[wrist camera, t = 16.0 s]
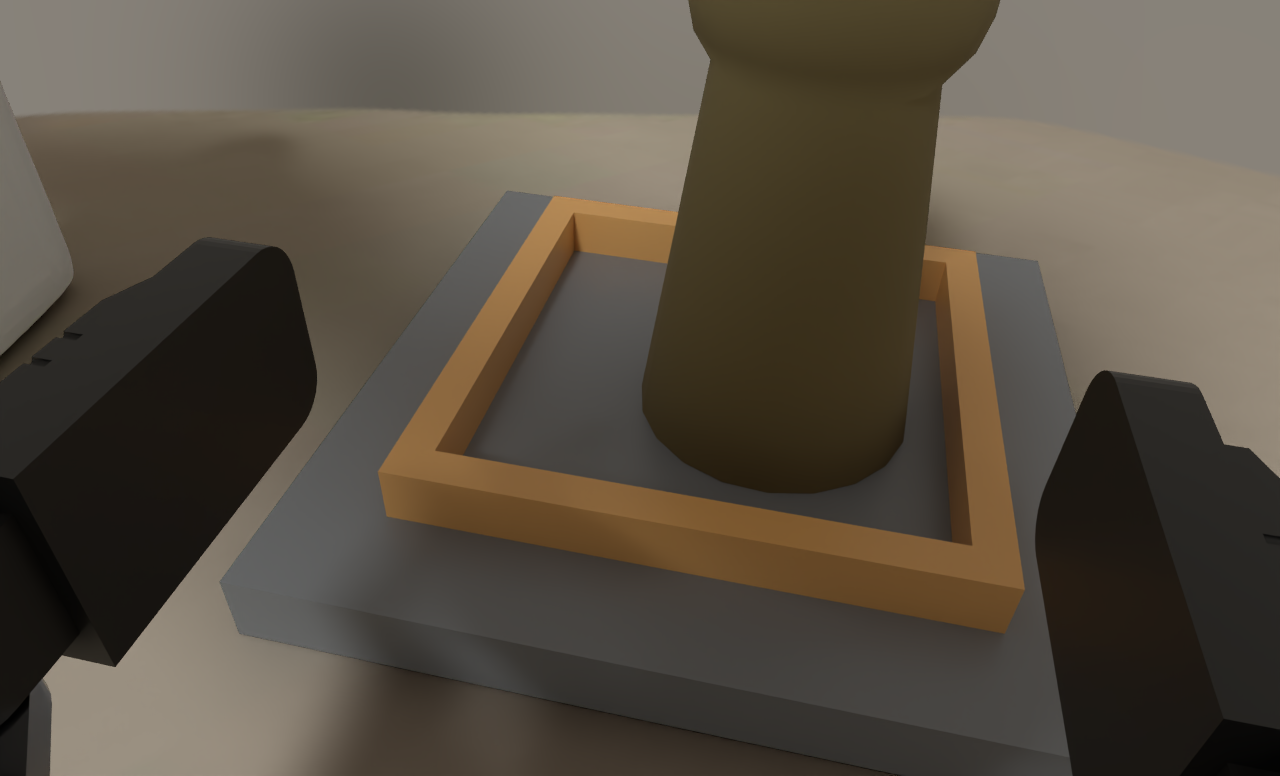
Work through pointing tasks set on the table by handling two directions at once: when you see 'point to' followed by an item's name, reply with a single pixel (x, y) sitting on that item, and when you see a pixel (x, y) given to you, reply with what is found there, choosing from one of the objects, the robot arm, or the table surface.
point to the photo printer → (26, 237)
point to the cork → (803, 237)
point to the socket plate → (682, 518)
